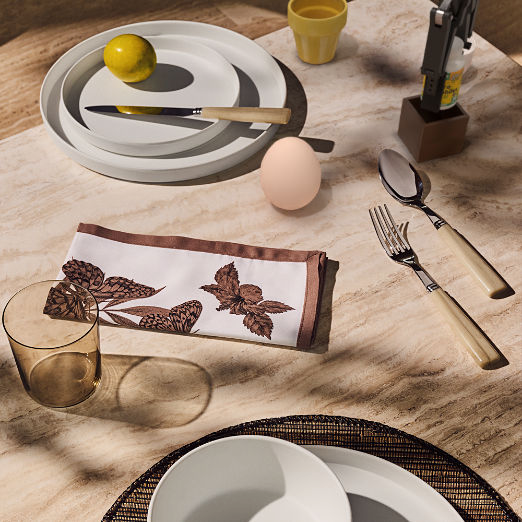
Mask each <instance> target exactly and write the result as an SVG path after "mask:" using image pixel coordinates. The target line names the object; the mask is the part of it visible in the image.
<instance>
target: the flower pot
mask: <svg viewBox="0 0 522 522" xmlns="http://www.w3.org/2000/svg"><path fill="white" fill-rule="evenodd" d="M348 14H349V4H348V2H347V1H346V0H289V1H288V3H287V23H288V26H289V28H290V30H291V31H292V34H293V38H294V42H295V47H296V51H297V52H296V53H297V56H298V58H299V59H300V60H301V61H302V62H304V63H306V64H310V65H323V64H326V63H329V62H330V61H332V60H333V59H334V57H335V55H336V51H337V48H338V44H339V40H340V37H341V33H342V31H343V29H345V27H346V26H347V22H348Z"/></svg>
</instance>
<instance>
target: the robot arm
mask: <svg viewBox="0 0 522 522" xmlns="http://www.w3.org/2000/svg"><path fill="white" fill-rule="evenodd" d="M479 4H480V0H438V6H437V7H435V6H432V7H431V9H430V11H429V25H428V30H427V35H426V40H425V47H424V53H423V58H422V63H421V66H420V68H419V70H420V75H422V76H424V75H425V76H426V78H425V84H424V89H423V95H422V101H421V106H420V108H423V109H426V110H429V111H432V112H435V113H438V112H439V111H440V106H441V101H442V96H443V91H444V86H445V82H446V77H447V72H445V70H446V66H447V63H448V59H449V55H450V52H451V48H452V45H453V41H454V38H455V36H456V37H459V38H460V39H462V41H463V42H464V46H463V49H467V50H470V48H471V46H472V43H471V42H467V39H468V38H469V39H470V38H471V37H473V32H474V27H475V23H476V19H477V13H478V10H479ZM462 54H464V51H463V52H462Z"/></svg>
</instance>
